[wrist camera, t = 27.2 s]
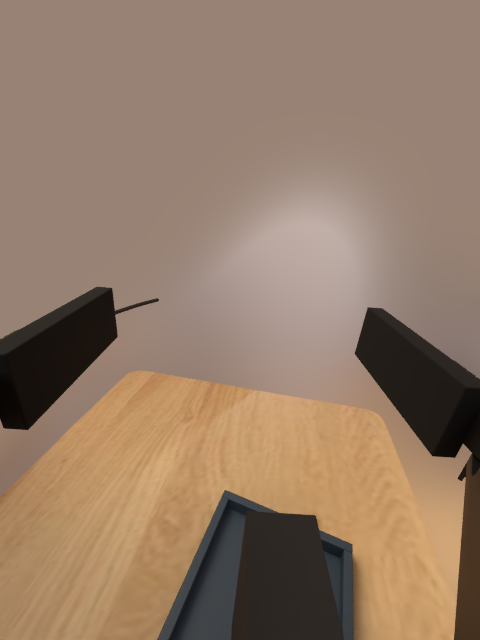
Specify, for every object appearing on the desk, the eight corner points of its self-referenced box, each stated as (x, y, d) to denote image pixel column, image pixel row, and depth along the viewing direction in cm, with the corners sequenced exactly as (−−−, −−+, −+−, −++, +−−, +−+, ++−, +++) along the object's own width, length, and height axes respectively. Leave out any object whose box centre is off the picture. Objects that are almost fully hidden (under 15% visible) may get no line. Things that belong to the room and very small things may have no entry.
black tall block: (291, 755, 17) (346, 646, 11) (226, 751, 17) (246, 641, 11) (281, 635, 21) (315, 515, 15) (230, 632, 21) (246, 510, 15)
